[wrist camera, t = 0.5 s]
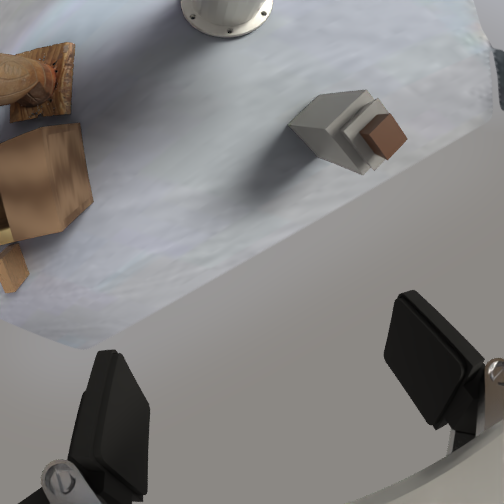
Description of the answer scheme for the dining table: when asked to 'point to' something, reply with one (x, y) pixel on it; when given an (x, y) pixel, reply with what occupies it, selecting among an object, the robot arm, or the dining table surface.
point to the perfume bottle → (349, 130)
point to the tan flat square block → (12, 268)
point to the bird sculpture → (37, 81)
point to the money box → (42, 182)
